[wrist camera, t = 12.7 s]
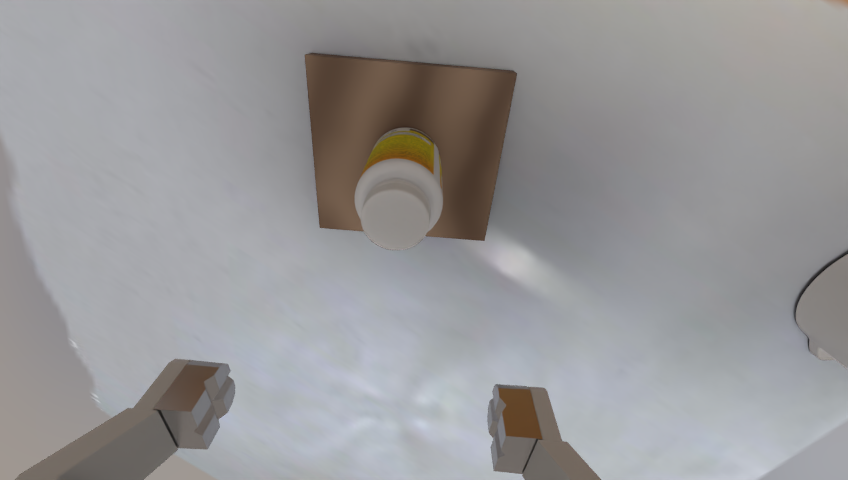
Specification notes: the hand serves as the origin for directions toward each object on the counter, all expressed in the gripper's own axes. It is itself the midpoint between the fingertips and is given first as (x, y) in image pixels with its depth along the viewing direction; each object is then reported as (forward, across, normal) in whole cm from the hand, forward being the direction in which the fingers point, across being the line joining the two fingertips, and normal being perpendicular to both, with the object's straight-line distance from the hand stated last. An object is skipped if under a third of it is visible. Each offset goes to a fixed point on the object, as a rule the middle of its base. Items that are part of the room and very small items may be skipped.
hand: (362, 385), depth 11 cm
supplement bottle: (+21, 0, 0) cm, 21 cm away
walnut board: (+22, 0, 0) cm, 23 cm away
